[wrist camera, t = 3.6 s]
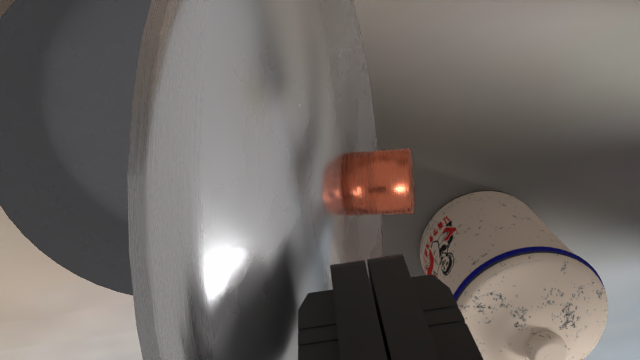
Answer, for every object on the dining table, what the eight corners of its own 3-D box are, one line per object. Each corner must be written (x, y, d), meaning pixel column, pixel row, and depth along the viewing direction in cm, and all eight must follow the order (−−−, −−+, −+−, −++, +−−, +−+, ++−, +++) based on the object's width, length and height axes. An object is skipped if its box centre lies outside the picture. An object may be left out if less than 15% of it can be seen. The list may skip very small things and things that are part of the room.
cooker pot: (293, -146, 28) (290, -202, 18) (350, 244, 37) (367, 337, 28) (0, -96, 28) (-147, -127, 19) (129, 277, 37) (73, 381, 28)
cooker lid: (318, -89, 20) (403, -105, 19) (368, 279, 26) (434, 280, 25) (-64, -179, 5) (250, -272, 4) (266, 722, 11) (416, 757, 10)
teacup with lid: (411, 194, 36) (460, 293, 25) (544, 177, 35) (651, 269, 25) (420, 335, 40) (464, 470, 29) (537, 320, 40) (625, 451, 29)
